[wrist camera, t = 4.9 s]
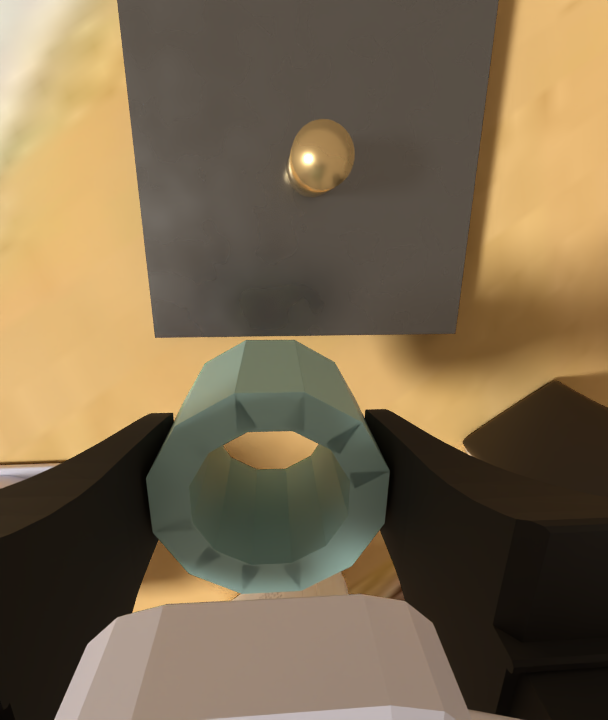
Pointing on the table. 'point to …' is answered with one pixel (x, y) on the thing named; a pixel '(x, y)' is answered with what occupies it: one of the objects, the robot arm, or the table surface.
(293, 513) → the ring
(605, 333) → the table surface
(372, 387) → the table surface
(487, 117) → the table surface
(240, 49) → the hub plate
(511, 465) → the battery charger
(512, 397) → the table surface
